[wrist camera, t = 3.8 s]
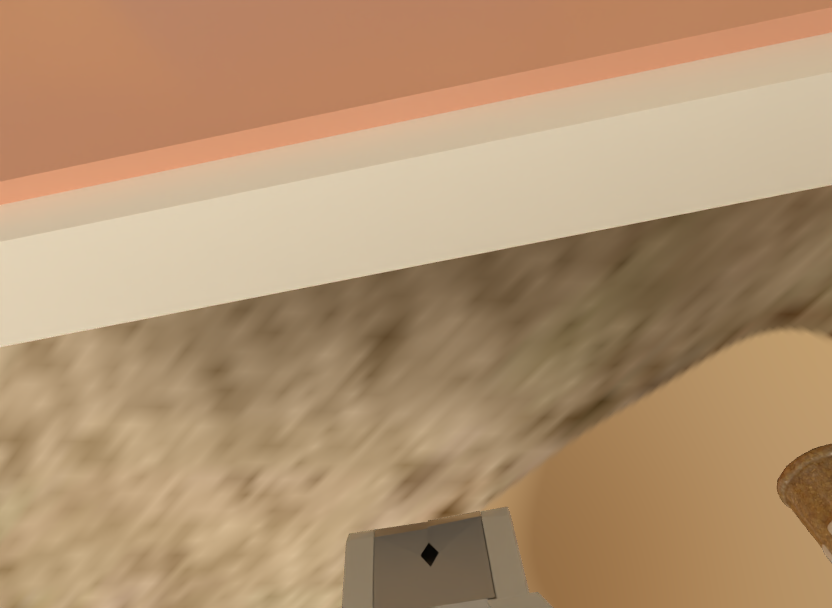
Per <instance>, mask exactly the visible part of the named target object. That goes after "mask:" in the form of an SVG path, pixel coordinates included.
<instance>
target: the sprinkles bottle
mask: <svg viewBox="0 0 832 608" xmlns="http://www.w3.org/2000/svg"><path fill="white" fill-rule="evenodd" d="M777 482H778V483H777V491H778V494H779V495H780V498H781V500H782V502H783V503H784V504H785V505H786V506H788V507H789V508H791V509H792V510H793V512H794V513H795V514H796V515H797V517H798V518H799V519H800V521H801V522H802V523H803V525H804V526H805V527H806V528H807V530H808V531H809V532H810V534H811V535H812V536H813V537H814V538H815V540H816V541H817V542H818V543H819V545H820V546H821V548H822V549H823V552H824V554H825V555H826V557H827V558H828V559H829V560H830V562H831V563H832V444H828V445H825V446H821V447H817V448H814V449H812V450H810V451H808V452H806V453H804V454H803V455H801V456H799V457H797V458H796V459H795V460H794V461H792V462H791V463H790V464H789V465H788V466H786V468H785V469H784V471H783V472H782V474H781V475H780V477H779V478H778V481H777Z"/></svg>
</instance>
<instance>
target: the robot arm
mask: <svg viewBox="0 0 832 608" xmlns="http://www.w3.org/2000/svg"><path fill="white" fill-rule="evenodd" d="M481 518H482V519H481ZM342 608H553V607H552V606H551V605H550V604H549V603H548V602H547V601H546V600H545V599H544V598H543V597H542V596H541V595H540V594H539V593H538V592H534V593H529V589H528V585H527V581H526V577H525V573H524V569H523V565H522V561H521V557H520V552H519V548H518V545H517V540H516V536H515V532H514V528H513V523H512V519H511V515H510V511H509V509H508V507H503V508H497V509H492V510H486V511H481V515H480V511H476V512H471V513H466V514H460V515H455V516H450V517H444V518H439V519H434V520H428V522H422V523H416V524H409V525H402V526H396V527H389V528H382V529H375V530H369V531H363V532H357V533H351V534H349V535H348V538H347V541H346V550H345V566H344V582H343V598H342Z"/></svg>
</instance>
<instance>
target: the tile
mask: <svg viewBox="0 0 832 608" xmlns="http://www.w3.org/2000/svg"><path fill="white" fill-rule="evenodd" d="M830 185H832V0H0V347H4V346H9V345H14V344H19V343H24V342H29V341H34V340H39V339H45V338H50V337H55V336H60V335H65V334H70V333H75V332H81V331H86V330H91V329H96V328H101V327H106V326H111V325H116V324H122V323H127V322H132V321H137V320H142V319H147V318H152V317H157V316H163V315H168V314H173V313H178V312H183V311H188V310H193V309H199V308H204V307H209V306H214V305H219V304H224V303H229V302H234V301H240V300H245V299H250V298H255V297H260V296H265V295H270V294H275V293H281V292H286V291H291V290H296V289H301V288H306V287H311V286H317V285H322V284H327V283H332V282H337V281H342V280H347V279H352V278H358V277H363V276H368V275H373V274H378V273H383V272H388V271H393V270H399V269H404V268H409V267H414V266H419V265H424V264H429V263H435V262H440V261H445V260H450V259H455V258H460V257H465V256H470V255H476V254H481V253H486V252H491V251H496V250H501V249H506V248H511V247H517V246H522V245H527V244H532V243H537V242H542V241H547V240H553V239H558V238H563V237H568V236H573V235H578V234H583V233H588V232H594V231H599V230H604V229H609V228H614V227H619V226H624V225H629V224H635V223H640V222H645V221H650V220H655V219H660V218H665V217H671V216H676V215H681V214H686V213H691V212H696V211H701V210H706V209H712V208H717V207H722V206H727V205H732V204H737V203H742V202H748V201H753V200H758V199H763V198H768V197H773V196H778V195H783V194H789V193H794V192H799V191H804V190H809V189H814V188H819V187H824V186H830Z"/></svg>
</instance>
